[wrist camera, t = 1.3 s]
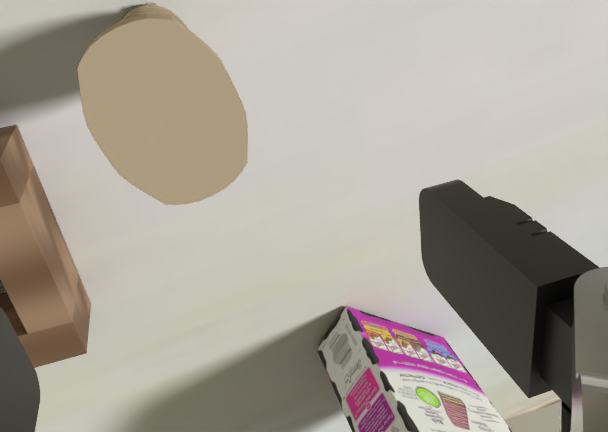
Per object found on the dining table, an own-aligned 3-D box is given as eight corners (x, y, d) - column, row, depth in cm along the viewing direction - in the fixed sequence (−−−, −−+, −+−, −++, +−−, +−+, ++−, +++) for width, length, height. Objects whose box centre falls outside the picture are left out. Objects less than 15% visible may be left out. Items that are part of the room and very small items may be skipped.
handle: (142, 102, 33) (152, 225, 20) (78, -5, 29) (42, 63, 17) (216, 65, 33) (273, 165, 20) (161, -45, 30) (188, -8, 17)
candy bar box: (312, 350, 46) (393, 543, 32) (343, 303, 44) (442, 483, 30) (415, 378, 51) (523, 556, 37) (446, 336, 49) (571, 505, 35)
